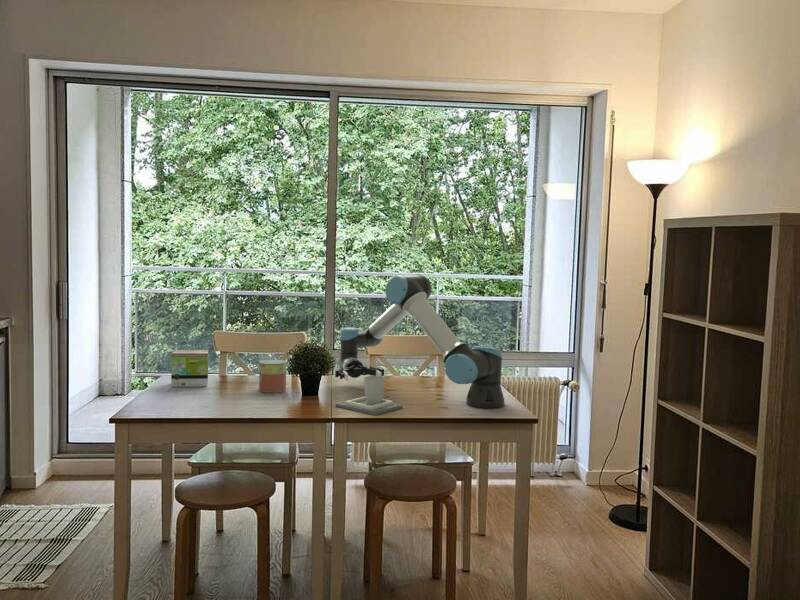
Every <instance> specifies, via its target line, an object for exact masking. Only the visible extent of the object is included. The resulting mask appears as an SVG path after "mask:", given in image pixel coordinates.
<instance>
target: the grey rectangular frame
mask: <svg viewBox="0 0 800 600" xmlns="http://www.w3.org/2000/svg"><path fill="white" fill-rule="evenodd" d="M336 406H337V408H340V407H342V408H341V409H345V408H346V409H345V410H349V409H351V410H350V411H354V410H356V411H355V412H358V411H359V412H360V413H364V414H369V415H373V416H378V415H382V414H385V413H388V412H389V411H390V412H392V410H393V411H397V410H400V409H403V404H399V403H396V402H395V403H394V400H390V399H384V398H382V400H381V403H380V404H376V405H369V404H367V400H366V396H361V397H358V398H354V399H348V400H344V401H341V402H337V403H335V407H336ZM399 408H400V409H399ZM396 409H397V410H396Z"/></svg>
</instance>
